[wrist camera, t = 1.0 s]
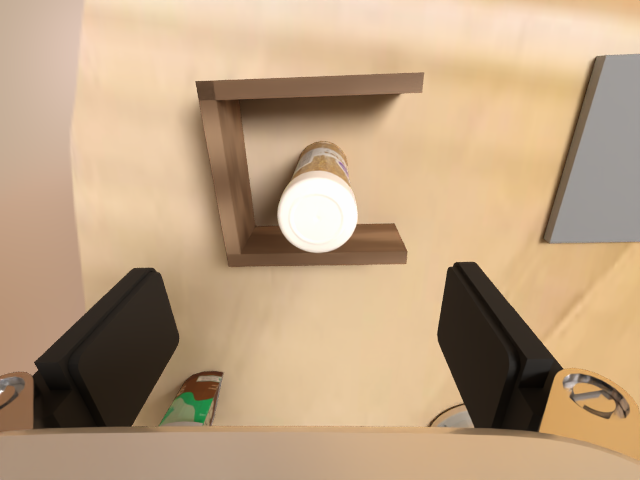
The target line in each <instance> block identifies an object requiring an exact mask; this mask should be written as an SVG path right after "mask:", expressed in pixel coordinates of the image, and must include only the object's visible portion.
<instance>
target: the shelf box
mask: <svg viewBox="0 0 640 480" xmlns="http://www.w3.org/2000/svg"><path fill="white" fill-rule="evenodd" d="M423 77H424V72H423V73H397V74H372V75H346V76H321V77H295V78H269V79H244V80H218V81H195V82H196V87H197V93H198V98H199V104H200V109H201V115H202V121H203V126H204V132H205V137H206V143H207V148H208V154H209V159H210V165H211V171H212V176H213V182H214V187H215V193H216V198H217V204H218V210H219V215H220V221H221V226H222V232H223V237H224V243H225V248H226V254H227V260H228V265H229V267H244V266H308V265H372V264H406V261H407V250H406V247H405V245H404V243H403V241H402V239H401V237H400V235H399V232H398V230H397V228H396V226H395V224H356V228H355V230H354V232H353V234H352V235H351V237H350V238H349V239H348V240H347V241H346V242H345V243H344V244H343V245H342V246H340V247H339V248H337V249H334V250H332V251H329V252H323V253H313V252H307V251H304V250H301V249H299V248H297V247H296V246H294V245H293V244H292V243H290V242H289V241H288V240H287V239H286V238H285V236H284V235H283V233H282V231H281V229H280V227H279V226H255V220H254V212H253V205H252V197H251V189H250V182H249V174H248V166H247V159H246V151H245V143H244V136H243V128H242V120H241V113H240V105H239V99H261V98H289V97H316V96H343V95H370V94H398V93H422V88H423Z"/></svg>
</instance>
